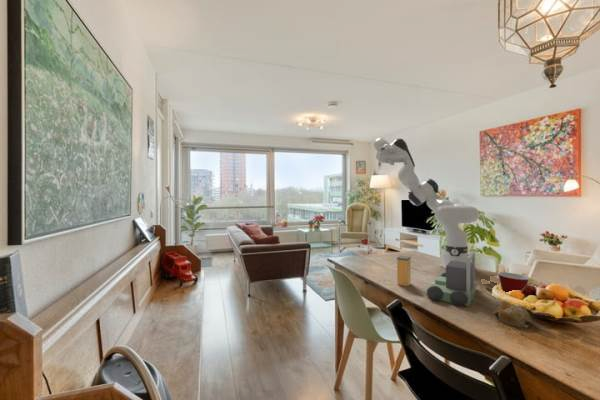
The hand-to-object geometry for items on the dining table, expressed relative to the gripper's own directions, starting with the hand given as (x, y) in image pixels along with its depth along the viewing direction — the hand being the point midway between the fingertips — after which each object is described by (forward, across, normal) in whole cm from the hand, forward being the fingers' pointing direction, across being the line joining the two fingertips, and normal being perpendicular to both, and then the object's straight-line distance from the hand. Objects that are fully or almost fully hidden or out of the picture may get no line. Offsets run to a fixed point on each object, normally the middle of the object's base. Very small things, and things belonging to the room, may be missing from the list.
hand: (399, 164), depth 161 cm
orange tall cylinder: (+56, +15, -38) cm, 69 cm away
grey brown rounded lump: (+93, +3, -11) cm, 94 cm away
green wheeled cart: (+70, +2, -28) cm, 76 cm away
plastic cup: (+83, -14, -19) cm, 86 cm away
